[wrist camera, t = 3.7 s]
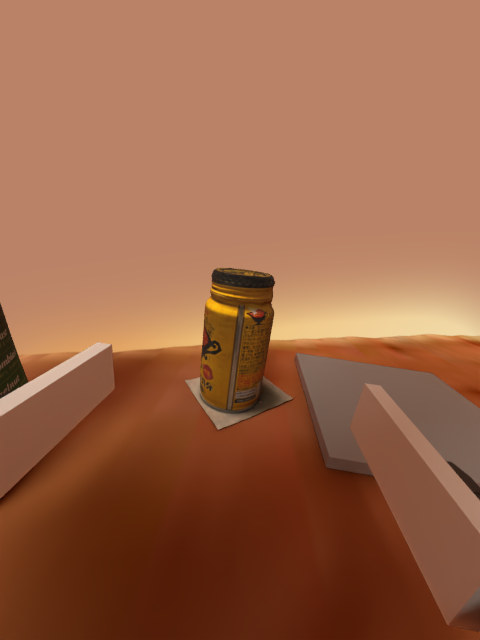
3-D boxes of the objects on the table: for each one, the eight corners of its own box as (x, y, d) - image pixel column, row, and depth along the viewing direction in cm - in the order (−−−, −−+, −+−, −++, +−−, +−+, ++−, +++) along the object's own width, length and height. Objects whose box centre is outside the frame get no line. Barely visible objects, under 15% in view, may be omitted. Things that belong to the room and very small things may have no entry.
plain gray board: (429, 379, 30) (432, 373, 29) (602, 516, 15) (612, 505, 14) (294, 359, 31) (296, 352, 30) (326, 467, 16) (329, 456, 15)
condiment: (184, 381, 23) (190, 263, 19) (250, 365, 28) (264, 268, 24) (217, 432, 17) (234, 279, 14) (292, 401, 22) (321, 281, 18)
